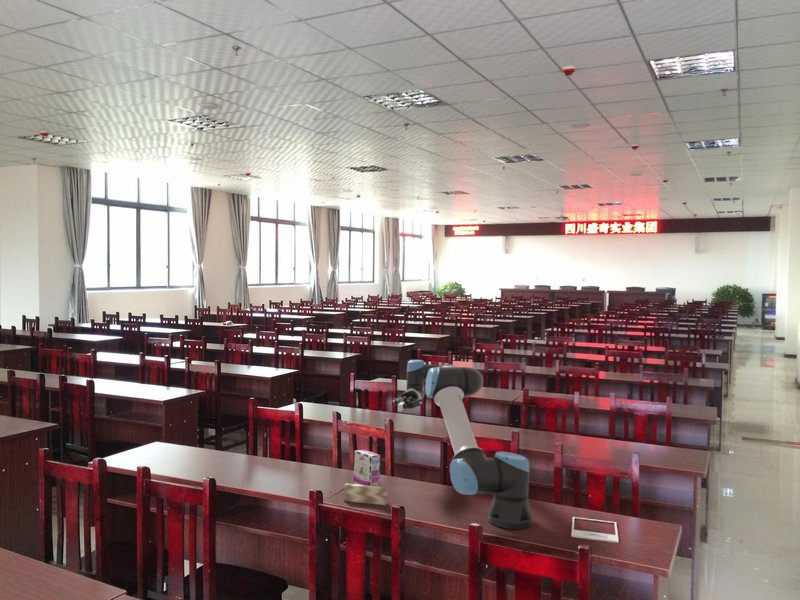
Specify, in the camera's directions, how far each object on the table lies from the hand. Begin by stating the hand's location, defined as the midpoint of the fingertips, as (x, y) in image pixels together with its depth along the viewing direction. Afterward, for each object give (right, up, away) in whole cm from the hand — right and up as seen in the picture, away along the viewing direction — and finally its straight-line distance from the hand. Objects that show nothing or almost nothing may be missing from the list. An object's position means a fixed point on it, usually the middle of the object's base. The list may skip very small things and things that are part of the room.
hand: (399, 408), depth 251 cm
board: (-13, -32, -17) cm, 38 cm away
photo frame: (+66, -35, -38) cm, 84 cm away
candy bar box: (-13, -32, -9) cm, 36 cm away
